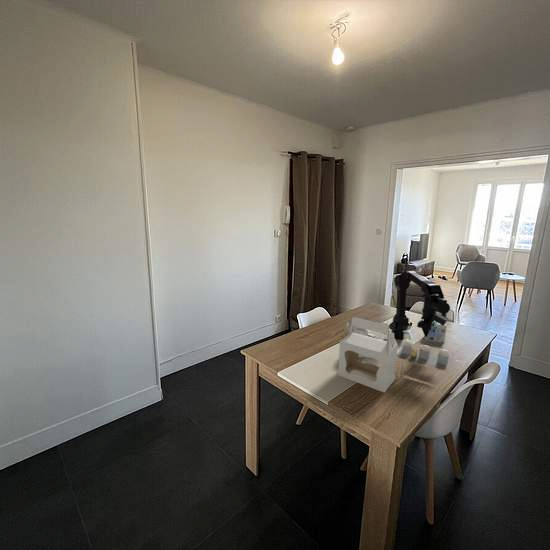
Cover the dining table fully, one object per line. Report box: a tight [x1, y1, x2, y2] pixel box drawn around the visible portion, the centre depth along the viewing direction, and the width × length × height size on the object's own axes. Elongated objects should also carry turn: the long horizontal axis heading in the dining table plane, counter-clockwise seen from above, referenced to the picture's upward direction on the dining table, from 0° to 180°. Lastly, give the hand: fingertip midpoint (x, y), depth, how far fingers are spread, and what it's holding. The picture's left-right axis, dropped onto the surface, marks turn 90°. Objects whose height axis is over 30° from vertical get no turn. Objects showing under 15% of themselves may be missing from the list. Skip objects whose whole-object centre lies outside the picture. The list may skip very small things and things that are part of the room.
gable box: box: [337, 316, 399, 394], centre depth 134 cm, size 22×13×28 cm, turn 51°
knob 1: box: [402, 340, 413, 348], centre depth 158 cm, size 4×4×6 cm
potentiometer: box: [410, 349, 418, 360], centre depth 153 cm, size 3×3×4 cm
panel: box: [397, 345, 453, 371], centre depth 153 cm, size 24×13×5 cm, turn 53°
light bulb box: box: [423, 320, 447, 343], centre depth 178 cm, size 11×7×11 cm, turn 68°
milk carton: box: [353, 326, 369, 359], centre depth 157 cm, size 7×7×19 cm
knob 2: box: [438, 348, 450, 358], centre depth 148 cm, size 4×4×6 cm
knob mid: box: [419, 344, 431, 353], centre depth 153 cm, size 4×4×6 cm
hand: (426, 336), depth 152 cm, fingers closed
